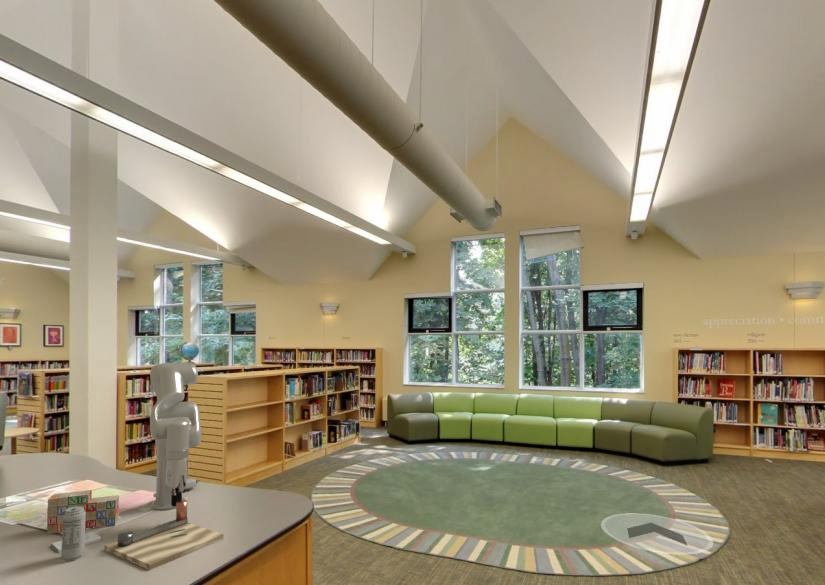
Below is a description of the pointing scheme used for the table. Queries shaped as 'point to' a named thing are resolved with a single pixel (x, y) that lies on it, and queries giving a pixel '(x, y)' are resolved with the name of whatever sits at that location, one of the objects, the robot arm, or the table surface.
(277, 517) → the table surface
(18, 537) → the table surface
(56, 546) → the external hard drive
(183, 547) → the board
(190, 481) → the robot toy
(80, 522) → the energy drink can
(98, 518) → the stack of blocks
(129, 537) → the lever
